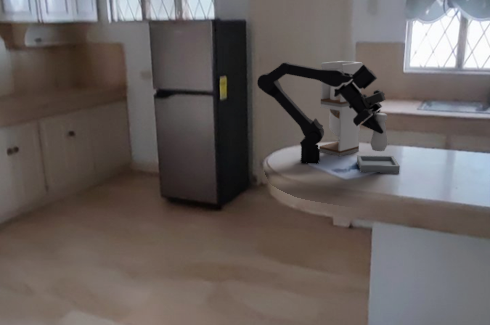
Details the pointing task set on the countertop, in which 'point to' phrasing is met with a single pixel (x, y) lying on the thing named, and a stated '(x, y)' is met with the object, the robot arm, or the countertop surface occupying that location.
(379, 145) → the salt shaker
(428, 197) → the countertop surface
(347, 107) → the display case
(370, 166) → the tray
